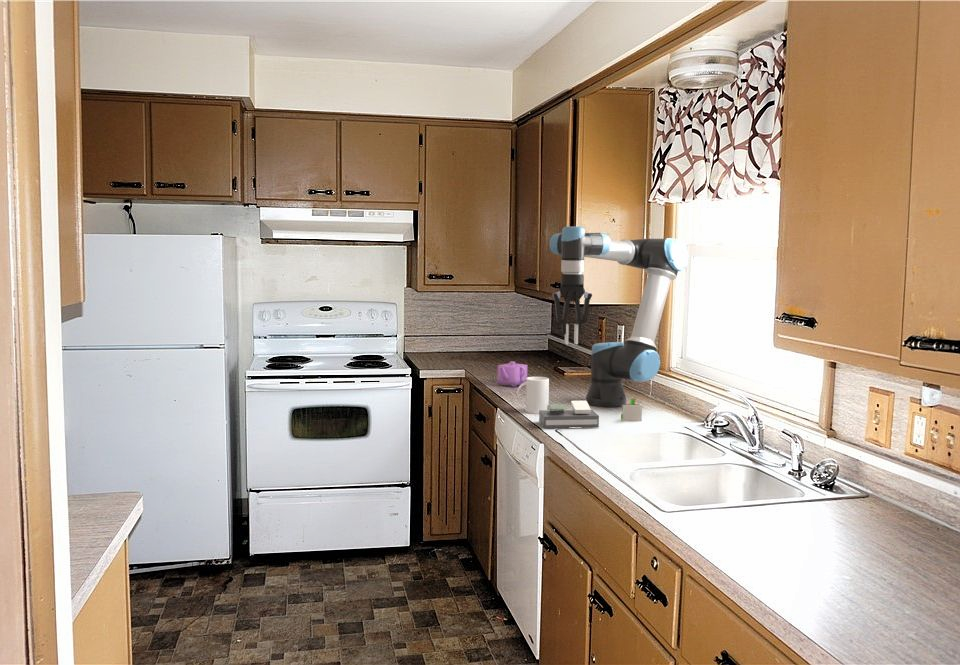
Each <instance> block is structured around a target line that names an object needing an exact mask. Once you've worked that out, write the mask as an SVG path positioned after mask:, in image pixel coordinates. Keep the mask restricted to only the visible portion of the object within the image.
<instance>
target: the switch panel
mask: <svg viewBox="0 0 960 665" xmlns="http://www.w3.org/2000/svg"><path fill="white" fill-rule="evenodd" d="M538 415H539V416H538V422H539V424H540V426H541V427H542V428H543V429H544V430H553V429H555V428H558V429H570V428H569V427H599V428H600V426H599V425H600V416H599V414H597V413H596V412H595V411H594V410H593V409H591V414H575V413H574V410H573V409H563V410H539V414H538Z"/></svg>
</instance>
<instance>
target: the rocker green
mask: <svg viewBox="0 0 960 665" xmlns="http://www.w3.org/2000/svg"><path fill="white" fill-rule="evenodd" d="M567 406H568V405H567V404H549V405H548V406H547V410H568V407H567Z"/></svg>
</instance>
